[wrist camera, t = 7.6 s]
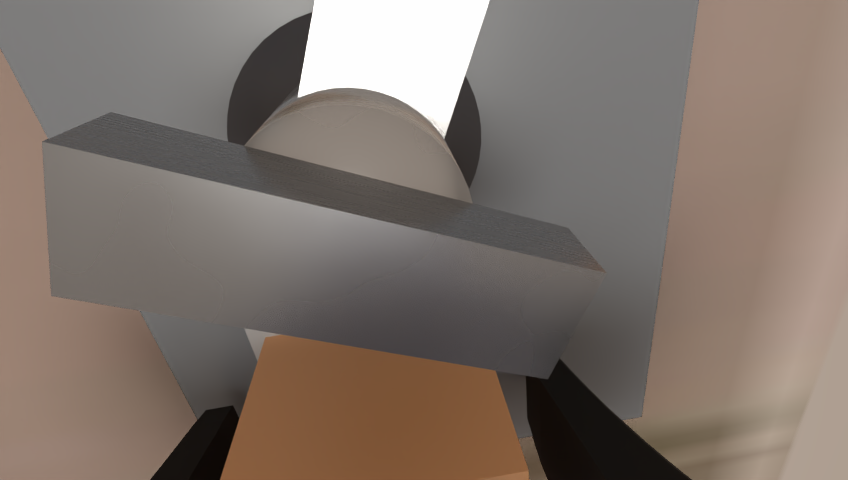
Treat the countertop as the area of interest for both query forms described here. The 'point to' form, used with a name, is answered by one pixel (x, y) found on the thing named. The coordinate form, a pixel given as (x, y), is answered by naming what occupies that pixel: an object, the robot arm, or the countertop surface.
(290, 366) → the orange cube
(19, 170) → the countertop surface
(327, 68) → the lever handle
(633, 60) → the box
